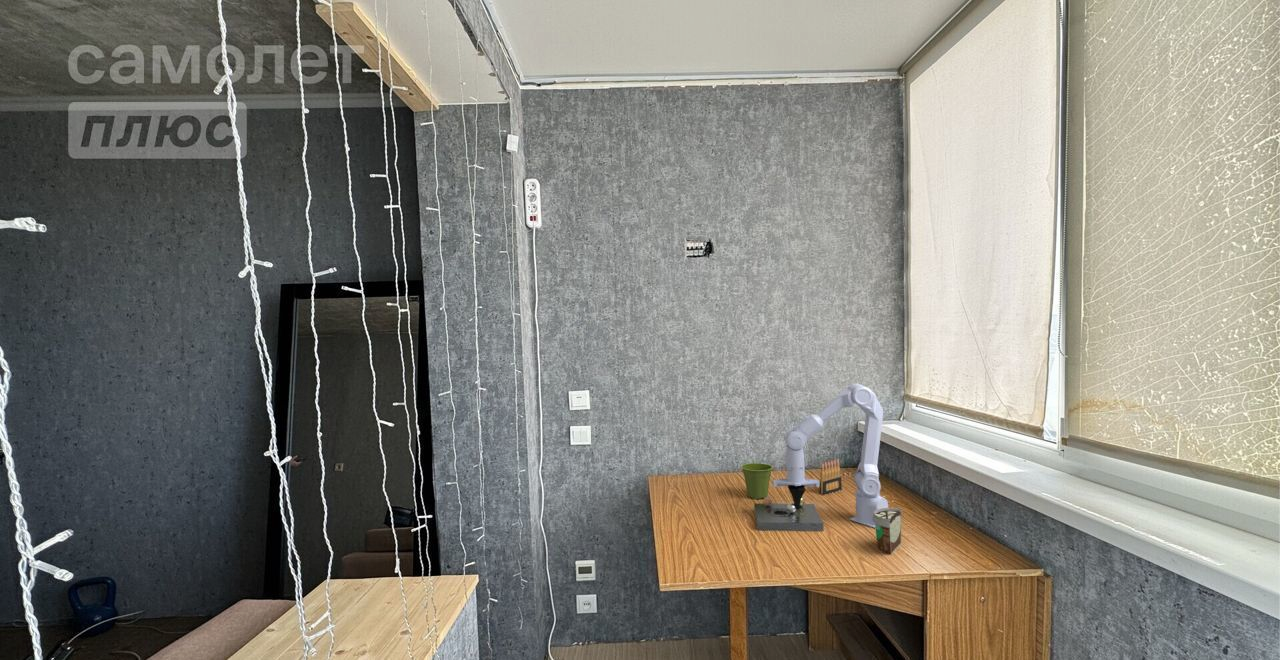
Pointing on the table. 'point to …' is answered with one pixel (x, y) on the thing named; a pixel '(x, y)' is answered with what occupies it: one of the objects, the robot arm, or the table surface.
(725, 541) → the table surface
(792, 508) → the steel ball
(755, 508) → the hole plate
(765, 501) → the terracotta ball
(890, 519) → the food container
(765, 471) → the plant pot
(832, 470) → the ammunition clip
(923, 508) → the table surface
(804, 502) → the brass ball
